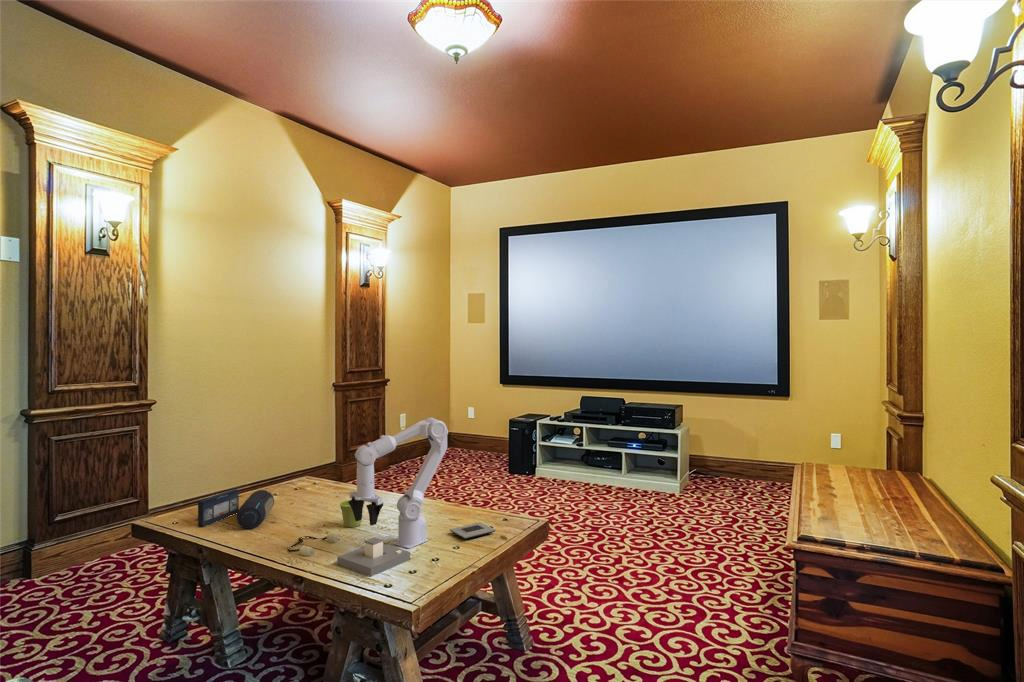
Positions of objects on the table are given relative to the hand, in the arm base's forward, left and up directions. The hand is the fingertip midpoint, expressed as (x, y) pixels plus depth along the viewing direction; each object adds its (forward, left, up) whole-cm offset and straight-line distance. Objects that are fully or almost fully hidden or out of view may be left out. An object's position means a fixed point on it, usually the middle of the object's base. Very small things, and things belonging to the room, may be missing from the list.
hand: (365, 522), depth 190 cm
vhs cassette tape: (+12, -74, -10) cm, 76 cm away
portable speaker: (+4, -61, -10) cm, 62 cm away
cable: (+9, -19, -10) cm, 23 cm away
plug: (+5, +10, -9) cm, 15 cm away
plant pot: (-14, -25, -10) cm, 30 cm away
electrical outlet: (-33, +19, -10) cm, 39 cm away
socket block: (+5, +10, -9) cm, 15 cm away
